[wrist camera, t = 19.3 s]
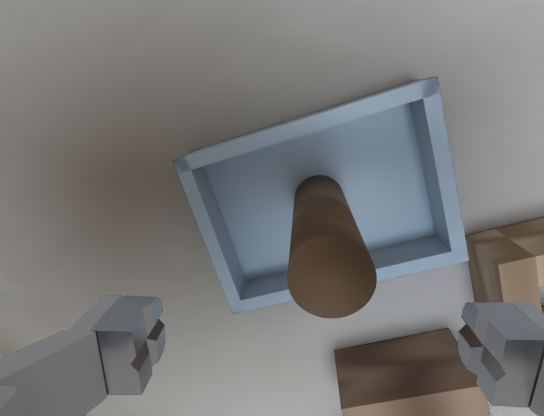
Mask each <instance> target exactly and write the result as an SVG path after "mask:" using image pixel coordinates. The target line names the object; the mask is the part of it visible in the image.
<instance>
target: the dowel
mask: <svg viewBox="0 0 544 416" xmlns="http://www.w3.org/2000/svg"><path fill="white" fill-rule="evenodd" d="M376 283H377V275H376V269H375V266H374V264H373V261H372V259H371V257H370V254H369V252H368V250H367V247H366V245H365V243H364V240H363V238H362V236H361V233H360V231H359V229H358V226H357V224H356V222H355V219H354V217H353V215H352V212H351V210H350V208H349V205H348V203H347V201H346V198H345V196H344V193H343V191H342V189H341V187H340V185H339V184H338V183H337V182H336V181H335V180H334V179H332V178H330V177H328V176H324V175H315V176H311V177H309V178H307V179H305V180H304V181H302V182H301V183H300V185H299V186H298V187H297V189H296V192H295V197H294V208H293V219H292V230H291V241H290V252H289V263H288V274H287V284H288V289H289V291H290V294H291V296H292V298H293V299H294V300H295V302H296V303H297V304H298V305H299V306H300V307H301V308H302V309H304V310H305V311H307V312H309V313H311V314H313V315H316V316H319V317H323V318H340V317H345V316H348V315H351V314H353V313H355V312H357V311H358V310H360V309H361V308H362V307H364V306H365V305H366V304H367V303H368V301H369V300H370V299H371V297H372V295H373V293H374V291H375V288H376Z"/></svg>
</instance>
